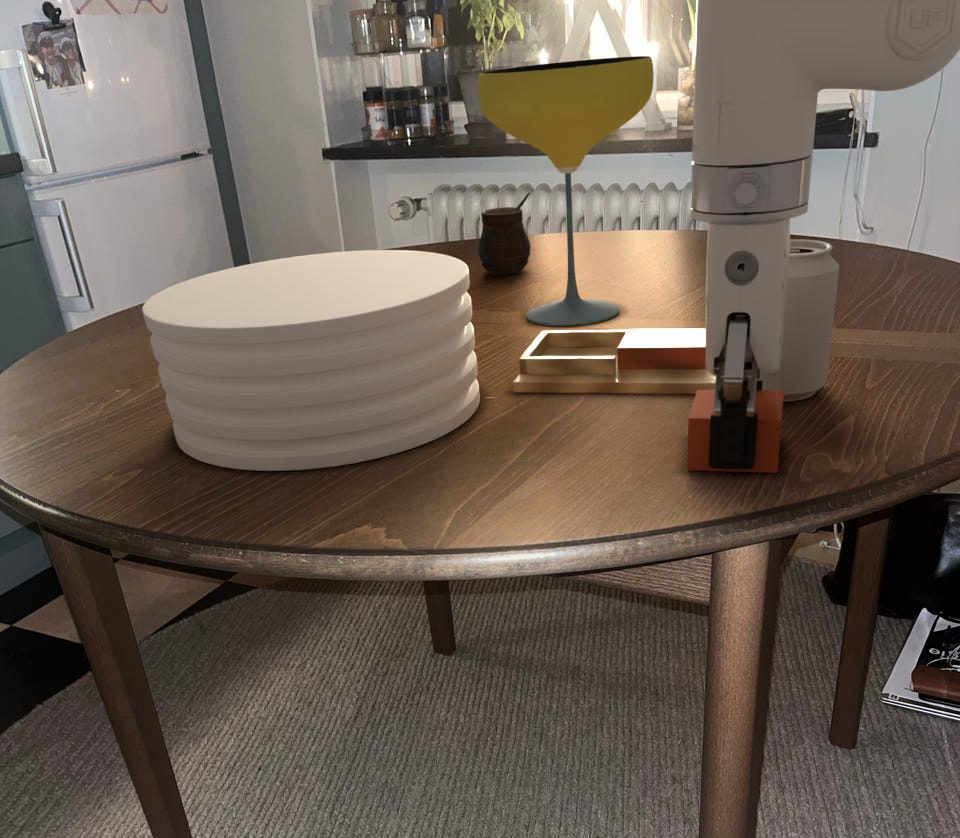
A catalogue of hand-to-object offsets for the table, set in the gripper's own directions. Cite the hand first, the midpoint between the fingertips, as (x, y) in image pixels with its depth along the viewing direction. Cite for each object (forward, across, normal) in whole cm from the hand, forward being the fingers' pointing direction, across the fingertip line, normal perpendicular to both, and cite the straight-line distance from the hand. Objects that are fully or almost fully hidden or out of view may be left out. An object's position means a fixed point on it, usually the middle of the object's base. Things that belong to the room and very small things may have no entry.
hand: (734, 446), depth 73 cm
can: (+1, +15, -3) cm, 15 cm away
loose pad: (+1, 0, 0) cm, 1 cm away
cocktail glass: (+1, +42, +21) cm, 47 cm away
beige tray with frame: (+1, +21, +12) cm, 24 cm away
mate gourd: (+1, +65, +35) cm, 74 cm away
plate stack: (+1, +8, +37) cm, 38 cm away
